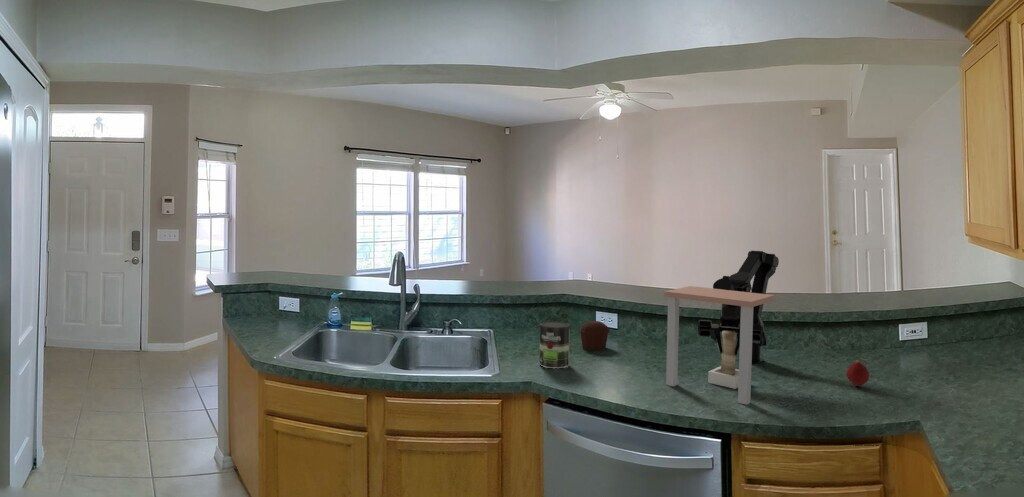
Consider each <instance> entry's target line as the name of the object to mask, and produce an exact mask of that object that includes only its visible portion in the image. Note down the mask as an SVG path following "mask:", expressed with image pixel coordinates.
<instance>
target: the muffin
mask: <svg viewBox="0 0 1024 497" xmlns="http://www.w3.org/2000/svg"><path fill="white" fill-rule="evenodd" d="M578 331H579V333H580V338H581V339H580V340H581V345H582V349H583V350H584V349H585V350H587V351H593V352H595V351H603V350H606V346H607V341H608V335H609V333H610V332H611V330H610V328H609V327H608V325H606V324H605V323H604V322H601V321H598V320H590V321H586V322H585V323H583V324H582V325H581V326H580V327H579V329H578Z"/></svg>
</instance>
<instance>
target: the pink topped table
mask: <svg viewBox="0 0 1024 497" xmlns="http://www.w3.org/2000/svg"><path fill="white" fill-rule="evenodd" d="M663 296H664V297H667V324H666V327H667V328H666V332H667V333H666V368H665V369H666V370H665V372H666V374H665V378H666V379H665V385H666V386H669V387H673V388H674V387H675V386H677V385H678V378H679V377H678V373H679V371H678V369H679V332H680V331H679V329H680V327H679V326H680V299H683V300H691V301H699V302H706V303H715V304H721V305H722V304H729V305H737V306H741V319H740V350H739V352H738V354H739V356H738V370H739V384H738V388H737V390H738V391H737V403H738V404H743V405H749V404H750V403H751V392H752V391H751V390H752V389H751V388H752V387H751V386H752V364H753V363H752V334H753V307H754V306H758V305H761V304H763V305H765V304H767V303H771V302H774V301H775V300H776V299H775V294H768V293H766V294H759V293H751V292H741V291H731V290H722V289H713V287H703V286H693V285H690V286H684V287H680V288H679V287H678V288H674V289H671V290H664V292H663Z"/></svg>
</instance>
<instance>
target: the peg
mask: <svg viewBox="0 0 1024 497" xmlns="http://www.w3.org/2000/svg"><path fill="white" fill-rule="evenodd" d="M736 344H737V334H736V332H735V331H722V333H721V346H722V353H721V356H720V357H721V362H720V366H721V373H723V374H728V375H733V376H734V375H735V369H736V356H737V355H735V351H736Z"/></svg>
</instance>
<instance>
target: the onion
mask: <svg viewBox="0 0 1024 497" xmlns="http://www.w3.org/2000/svg"><path fill="white" fill-rule="evenodd" d="M854 361H855V363H854V362H853V363H852V364H850V365H849V367H848V368H847V369H846V377H847V380H848V381H849V382H850V383H852V384H853V386H855V385H856V386H859V387H860V386H863V385H865V384H866V383H867V382H868V381H869V380H870V373H869V370H868V368H867V367H866V366H865V365H864V364H862V362H860V360H857V359H856V360H854ZM856 386H855V387H856Z"/></svg>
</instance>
